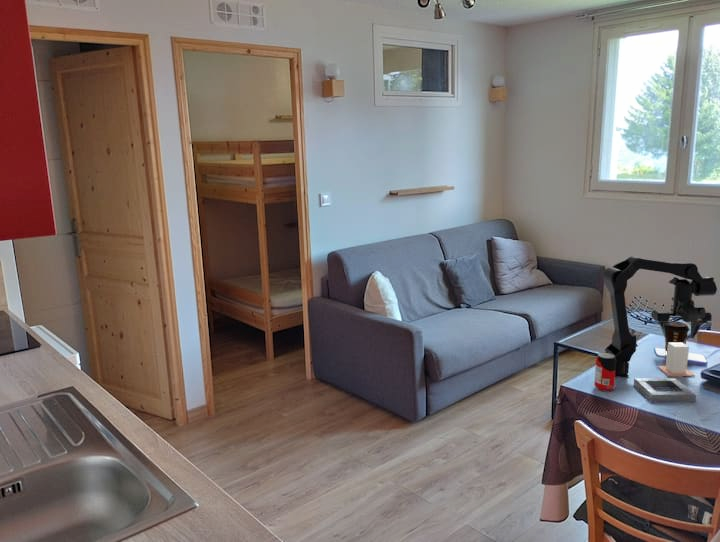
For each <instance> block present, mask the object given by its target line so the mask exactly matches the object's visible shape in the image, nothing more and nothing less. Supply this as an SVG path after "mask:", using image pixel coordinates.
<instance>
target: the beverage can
mask: <svg viewBox="0 0 720 542" xmlns="http://www.w3.org/2000/svg"><path fill="white" fill-rule="evenodd" d="M614 357H615V356H614V355H613V354H610V353H606V352H599V353H598V354H597V357H596V359H595V370H594V372H595V373H594V383H593V384H594V386H595V387H596V389H597V388H598V390H599V389H600V390H599V391H602V390H604V391H603V392H610V391H612V390H613V389H615V383H616V382H615V380H616V377H615V371H616V360H615V358H614ZM609 390H610V391H609Z"/></svg>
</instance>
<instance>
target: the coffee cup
mask: <svg viewBox="0 0 720 542" xmlns="http://www.w3.org/2000/svg"><path fill="white" fill-rule="evenodd" d="M669 322H670V323H669V325H668V337H667V339H666V338H665V337H664V341H665V342H664V343H665V347H664V350H665V352H666V351H667V347H668V342H682V343H684V344H685V345H687V344H686V343H687V340H688V334H689V331H690V328H689V325H688V324H686V322H682V321H673V320H672V321H669Z"/></svg>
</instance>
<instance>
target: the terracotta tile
mask: <svg viewBox="0 0 720 542" xmlns="http://www.w3.org/2000/svg"><path fill="white" fill-rule="evenodd" d="M657 368H658V369H659V370H660V371H661V372H662V373H664V374H665V375H666V376H667V377H668V378H677V377H678V378H681V377H683V376H694V377H693V378H695V377H696V375H695V374H694V373H692V372H691V371H690V370H689V369H687V371H686V373H671V372H670V371H669V370H667V369H666V365H657ZM683 378H684V377H683Z"/></svg>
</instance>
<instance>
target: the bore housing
mask: <svg viewBox="0 0 720 542" xmlns="http://www.w3.org/2000/svg"><path fill="white" fill-rule="evenodd" d="M633 386H634V387H635V388H636V389H637V388H638V389H639V390H638V389H637V390H638V391H639V392H640V393H642V394H643V395H644V396H645V395H646V396H647V397H648V398H649V399H650V400H651V401H654V402H653V403H696V400H697V394H696V393H695V392H693V391H692V390H691V389H689V388H688V387H687V386H686V385H684V384H683V383H682V382H681V381H680V380H678V379H677V377H667V378H663V377H662V378H661V377H656V378H653V377H647V378H646V377H645V378H644V377H642V378H641V377H635V378H633ZM656 388H657V389H671V390H673V391H656V390H655V389H656ZM646 396H645V397H646ZM647 397H646V398H647ZM648 398H647V399H648ZM649 399H648V400H649ZM650 400H649V401H650ZM651 401H650V402H651ZM655 401H656V402H655Z"/></svg>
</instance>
